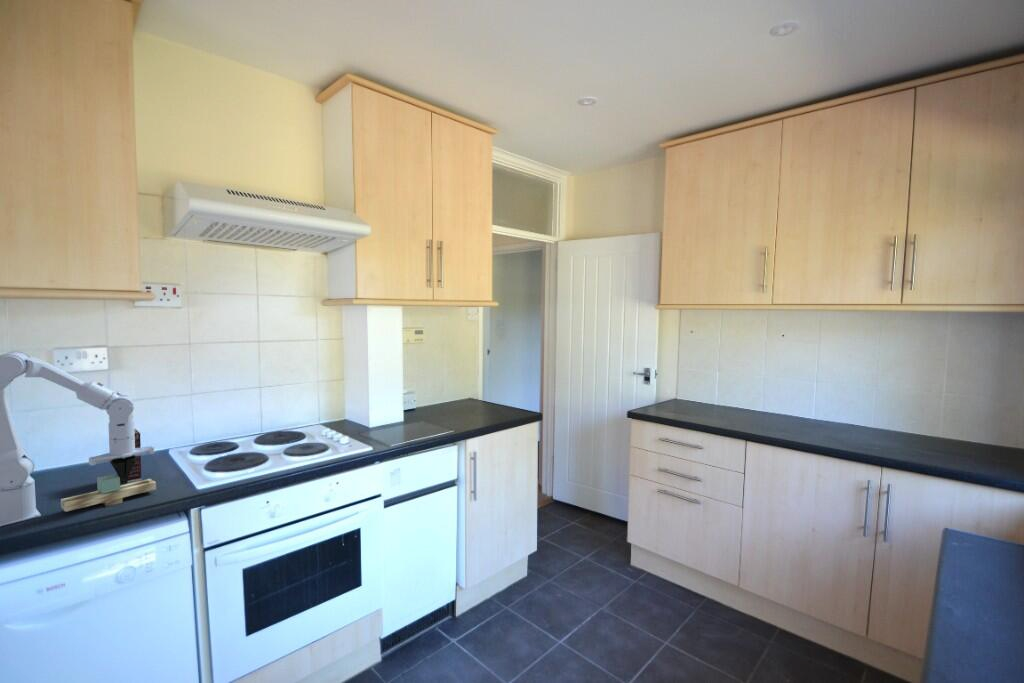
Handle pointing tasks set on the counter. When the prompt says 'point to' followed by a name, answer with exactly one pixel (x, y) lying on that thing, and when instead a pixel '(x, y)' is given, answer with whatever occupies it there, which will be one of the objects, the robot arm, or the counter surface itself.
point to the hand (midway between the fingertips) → (123, 482)
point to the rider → (108, 483)
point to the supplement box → (136, 469)
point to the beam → (107, 495)
